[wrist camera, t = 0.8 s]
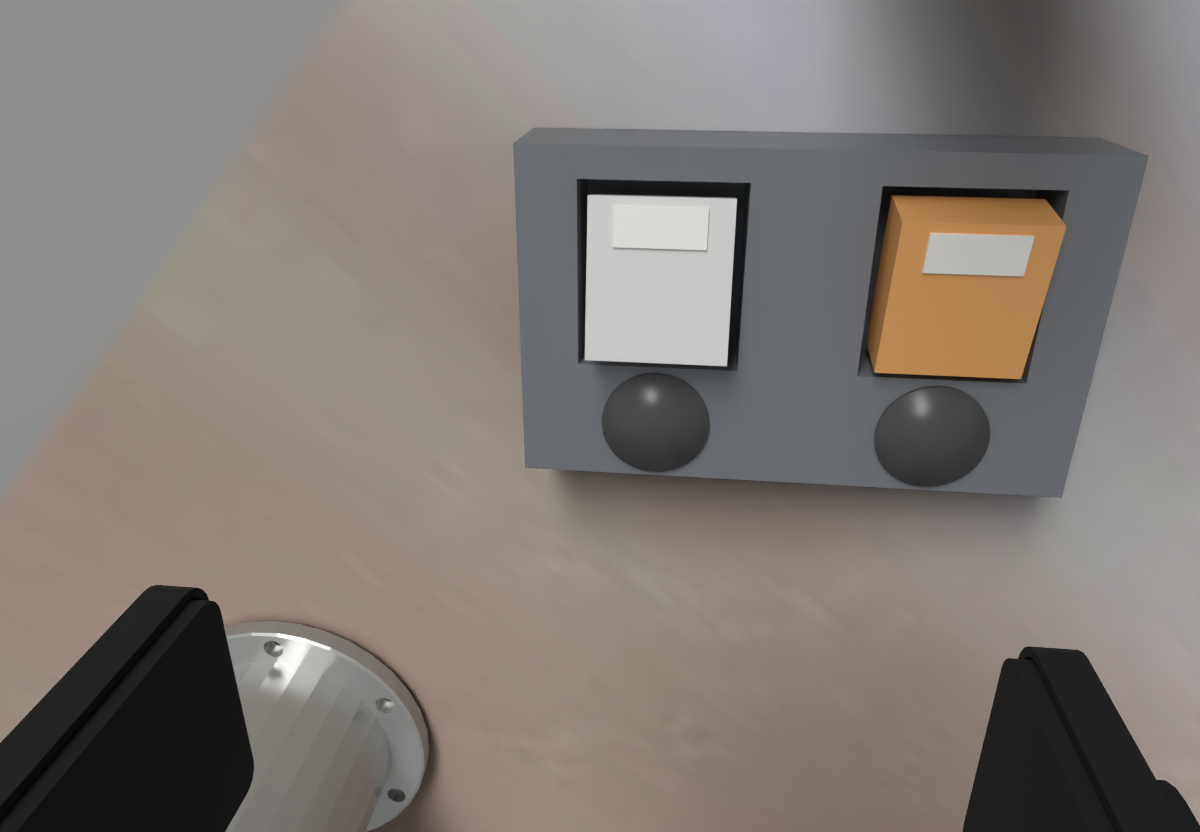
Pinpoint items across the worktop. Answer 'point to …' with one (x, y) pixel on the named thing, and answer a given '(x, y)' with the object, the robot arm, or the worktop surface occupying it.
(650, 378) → the grey switch box
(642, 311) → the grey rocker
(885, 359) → the labelled cardboard parcel
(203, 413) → the worktop surface
